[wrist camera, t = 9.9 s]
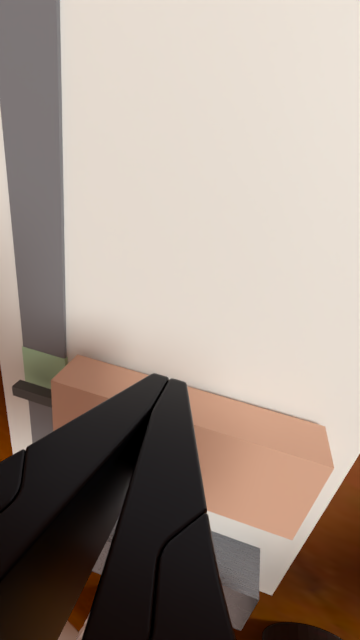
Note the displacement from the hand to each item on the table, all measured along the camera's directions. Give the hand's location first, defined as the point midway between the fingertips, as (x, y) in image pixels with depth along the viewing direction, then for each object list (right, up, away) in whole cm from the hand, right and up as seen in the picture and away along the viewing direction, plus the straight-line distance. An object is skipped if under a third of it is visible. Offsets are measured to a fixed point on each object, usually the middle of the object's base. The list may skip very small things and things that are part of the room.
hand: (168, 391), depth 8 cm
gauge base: (0, 0, +8) cm, 8 cm away
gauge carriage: (-1, -3, +8) cm, 9 cm away
